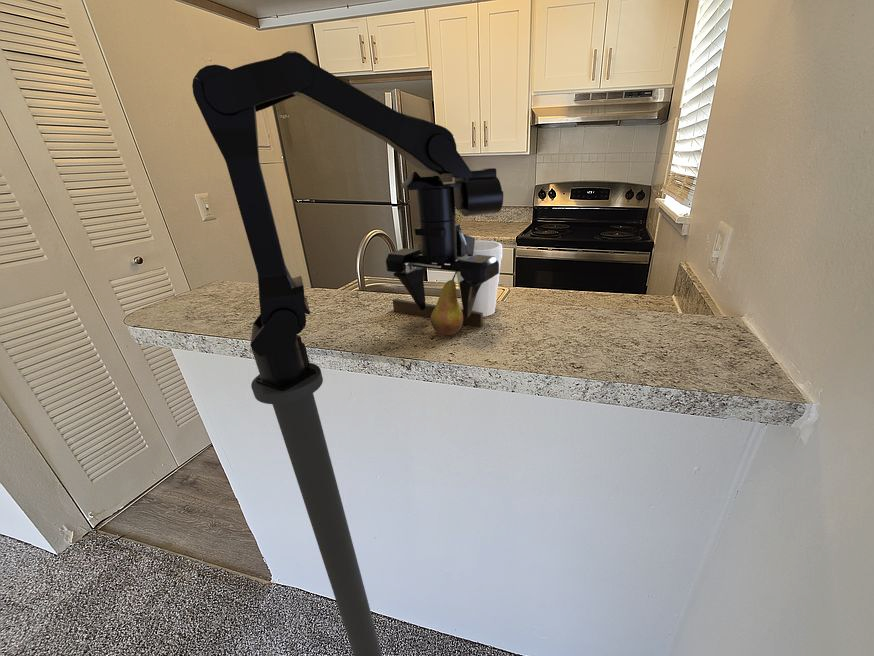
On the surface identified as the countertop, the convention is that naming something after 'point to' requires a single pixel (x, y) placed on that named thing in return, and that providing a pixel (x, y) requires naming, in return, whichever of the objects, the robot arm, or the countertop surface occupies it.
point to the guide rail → (413, 309)
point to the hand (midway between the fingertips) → (444, 313)
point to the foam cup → (488, 289)
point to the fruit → (447, 311)
